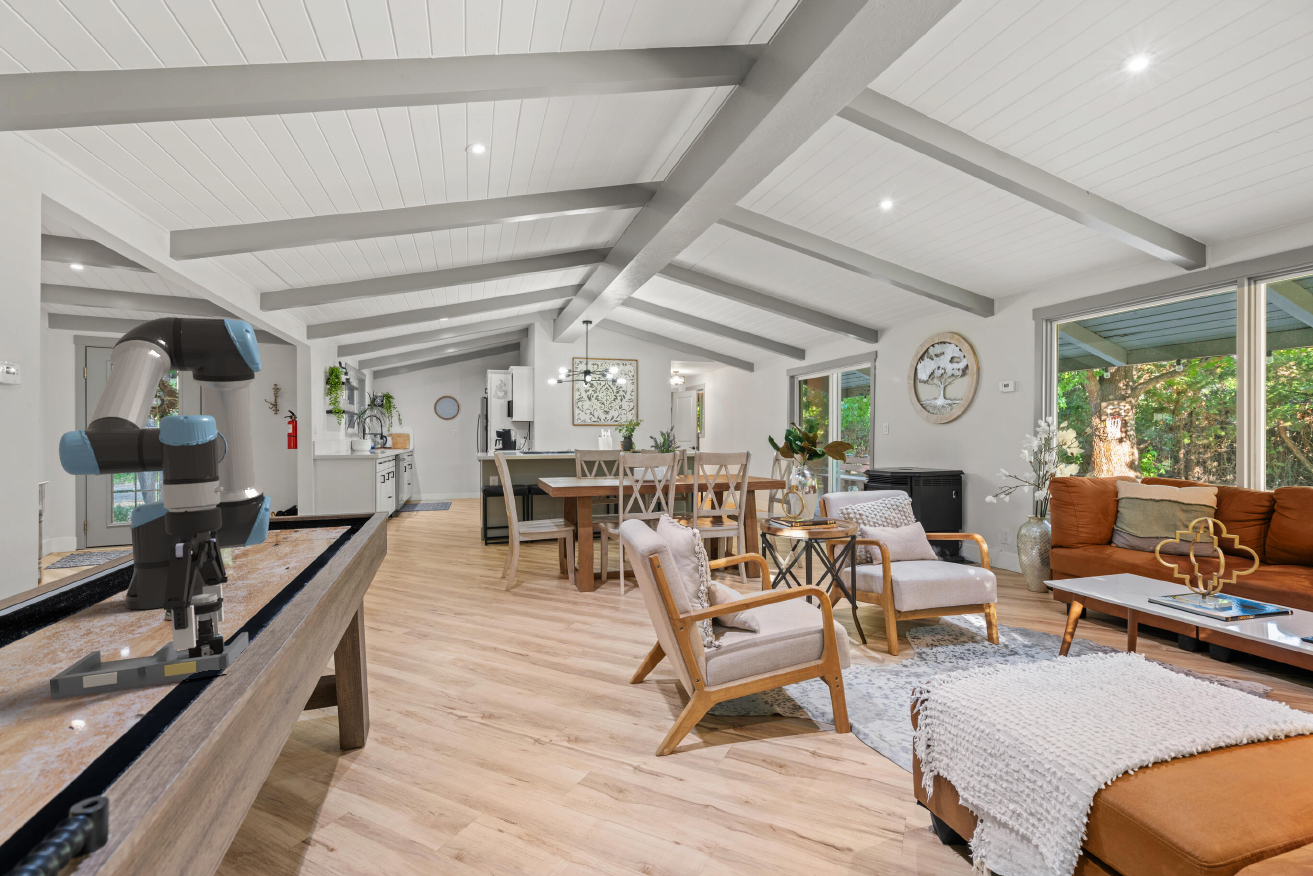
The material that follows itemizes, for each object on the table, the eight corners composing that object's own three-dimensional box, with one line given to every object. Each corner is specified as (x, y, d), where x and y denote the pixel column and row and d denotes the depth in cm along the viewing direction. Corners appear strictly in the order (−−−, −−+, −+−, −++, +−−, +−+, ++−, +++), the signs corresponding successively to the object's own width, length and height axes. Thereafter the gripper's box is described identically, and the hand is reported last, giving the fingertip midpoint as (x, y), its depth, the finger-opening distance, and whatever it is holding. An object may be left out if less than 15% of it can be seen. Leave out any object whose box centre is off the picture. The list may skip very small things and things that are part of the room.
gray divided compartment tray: (93, 669, 102) (92, 651, 102) (248, 648, 109) (247, 631, 109) (49, 700, 90) (48, 680, 90) (226, 675, 97) (225, 656, 97)
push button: (175, 665, 99) (171, 604, 99) (179, 655, 104) (175, 596, 104) (225, 656, 103) (222, 596, 103) (227, 646, 107) (223, 589, 107)
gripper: (192, 516, 92) (200, 657, 93) (241, 497, 115) (248, 610, 116) (130, 521, 89) (139, 665, 90) (194, 500, 113) (200, 615, 114)
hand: (200, 634), depth 103 cm, fingers open, 13 cm apart
